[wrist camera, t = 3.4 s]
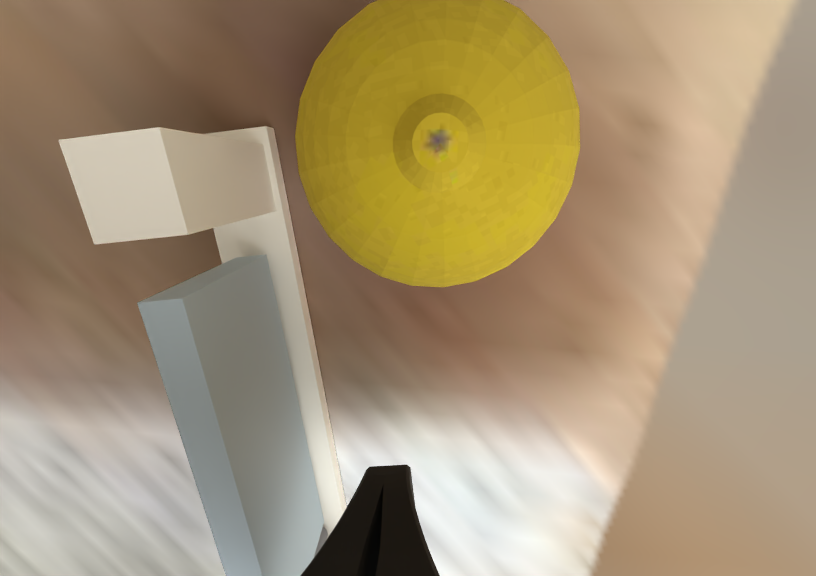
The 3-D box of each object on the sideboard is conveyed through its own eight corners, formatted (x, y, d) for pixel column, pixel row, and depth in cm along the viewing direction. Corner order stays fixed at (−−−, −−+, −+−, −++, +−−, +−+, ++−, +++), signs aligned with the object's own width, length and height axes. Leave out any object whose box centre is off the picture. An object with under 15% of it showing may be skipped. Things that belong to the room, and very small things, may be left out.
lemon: (483, 28, 11) (612, -288, 3) (541, 208, 13) (724, 266, 5) (313, 111, 12) (117, 2, 4) (385, 270, 13) (334, 405, 6)
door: (329, 542, 16) (286, 710, 11) (285, 544, 16) (222, 710, 11) (267, 253, 12) (163, 308, 8) (211, 259, 13) (72, 316, 8)
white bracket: (358, 565, 17) (329, 732, 12) (305, 567, 18) (256, 734, 12) (273, 128, 12) (161, 96, 7) (200, 137, 12) (38, 112, 7)
